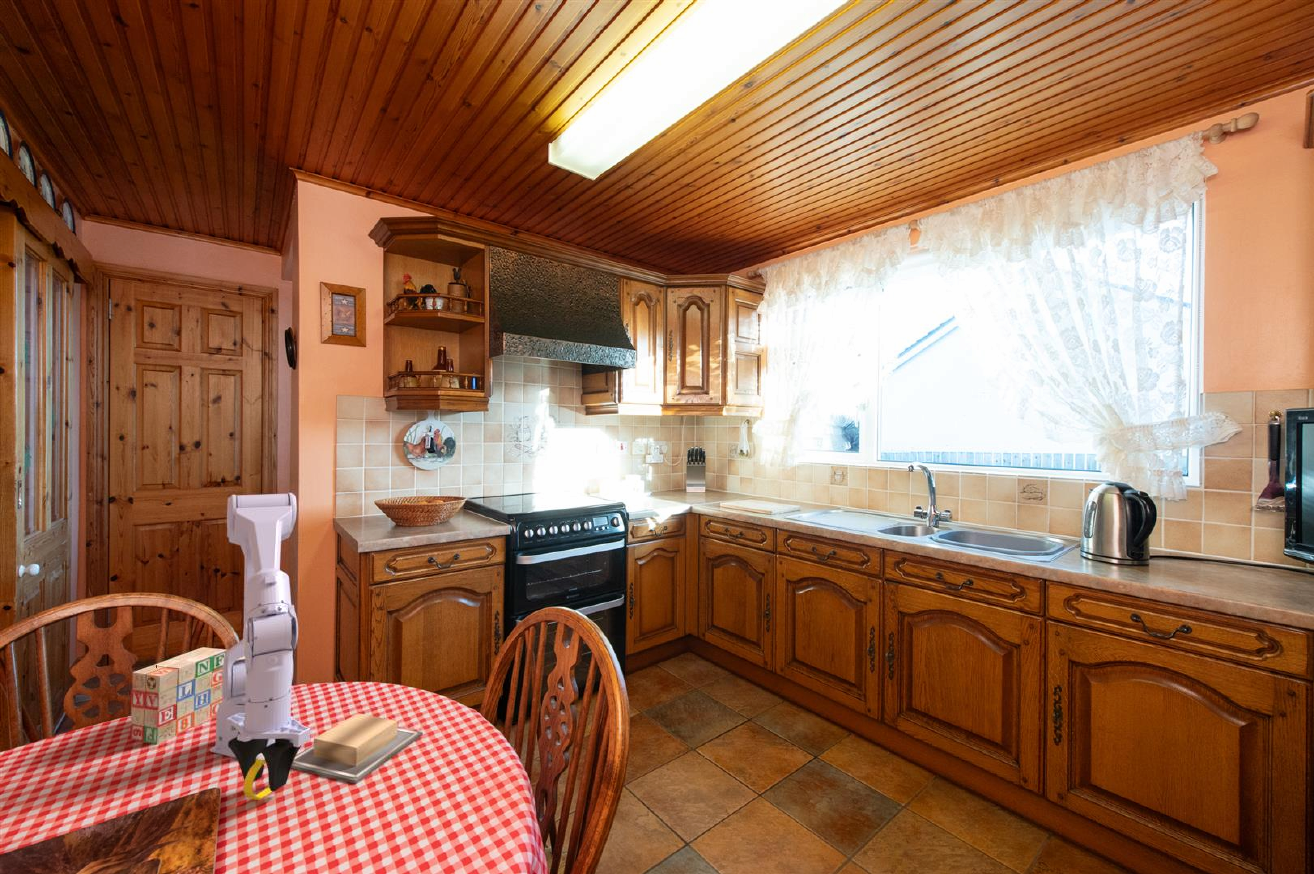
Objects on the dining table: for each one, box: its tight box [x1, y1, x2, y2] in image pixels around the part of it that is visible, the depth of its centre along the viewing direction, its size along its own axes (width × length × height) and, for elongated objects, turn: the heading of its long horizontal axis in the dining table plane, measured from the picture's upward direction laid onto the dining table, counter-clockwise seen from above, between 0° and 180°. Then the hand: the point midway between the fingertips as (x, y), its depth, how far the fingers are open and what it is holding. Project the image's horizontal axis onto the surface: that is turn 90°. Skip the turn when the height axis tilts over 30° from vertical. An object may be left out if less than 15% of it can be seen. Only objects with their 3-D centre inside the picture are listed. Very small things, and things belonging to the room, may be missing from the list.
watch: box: [243, 753, 273, 801], centre depth 82 cm, size 6×3×6 cm, turn 166°
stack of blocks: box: [129, 646, 245, 745], centre depth 105 cm, size 21×6×12 cm, turn 168°
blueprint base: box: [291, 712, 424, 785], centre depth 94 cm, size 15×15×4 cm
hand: (265, 783), depth 82 cm, fingers open, 4 cm apart
